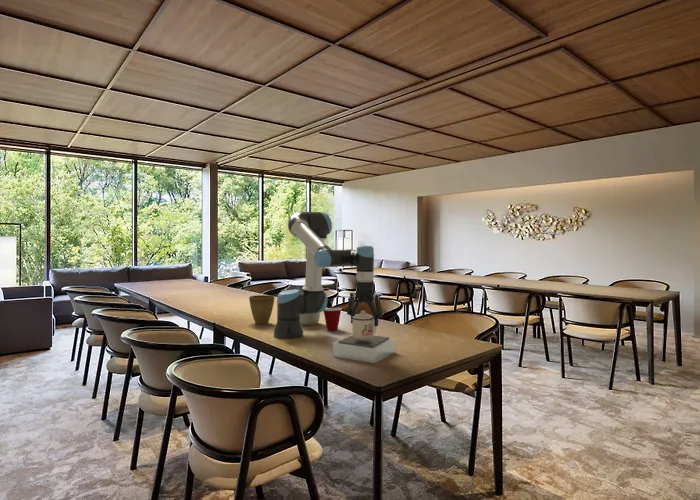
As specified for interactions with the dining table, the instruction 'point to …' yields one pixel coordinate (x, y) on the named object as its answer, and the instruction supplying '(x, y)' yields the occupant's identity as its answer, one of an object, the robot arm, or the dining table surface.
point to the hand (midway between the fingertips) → (364, 332)
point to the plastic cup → (332, 318)
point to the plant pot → (261, 308)
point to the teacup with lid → (362, 326)
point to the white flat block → (363, 348)
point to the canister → (309, 318)
